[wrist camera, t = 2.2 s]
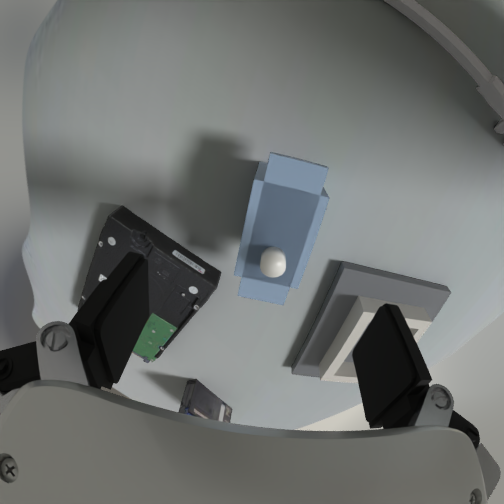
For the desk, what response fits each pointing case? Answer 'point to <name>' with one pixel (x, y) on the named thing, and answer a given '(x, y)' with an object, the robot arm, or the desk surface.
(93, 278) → the disk drive
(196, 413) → the mini dv tape
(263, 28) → the desk surface
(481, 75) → the caliper
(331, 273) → the desk surface
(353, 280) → the plate
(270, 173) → the servo block
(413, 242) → the desk surface
